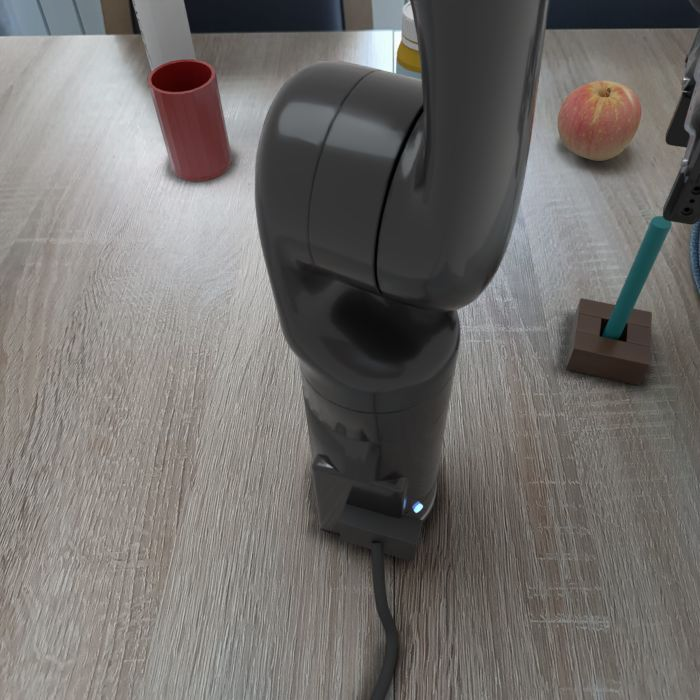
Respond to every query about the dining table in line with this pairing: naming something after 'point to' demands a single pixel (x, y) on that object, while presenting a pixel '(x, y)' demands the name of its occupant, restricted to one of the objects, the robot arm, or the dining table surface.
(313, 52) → the dining table surface
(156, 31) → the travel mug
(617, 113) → the apple
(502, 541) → the dining table surface
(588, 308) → the block
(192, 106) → the cup
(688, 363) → the dining table surface
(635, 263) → the straw
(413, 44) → the bottle
